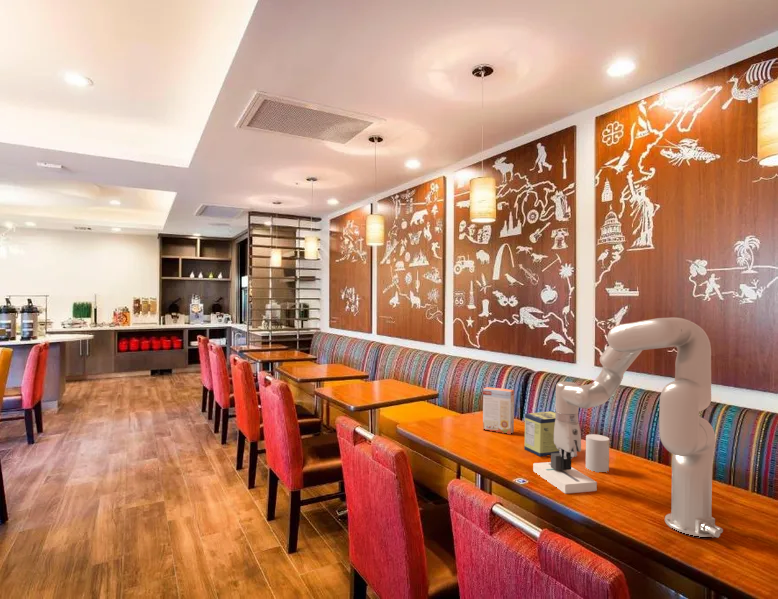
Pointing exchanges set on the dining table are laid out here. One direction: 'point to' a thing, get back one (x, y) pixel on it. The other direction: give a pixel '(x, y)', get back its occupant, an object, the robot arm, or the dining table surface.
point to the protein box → (540, 433)
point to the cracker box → (498, 410)
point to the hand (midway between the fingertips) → (565, 468)
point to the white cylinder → (597, 453)
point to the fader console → (565, 478)
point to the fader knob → (556, 461)
